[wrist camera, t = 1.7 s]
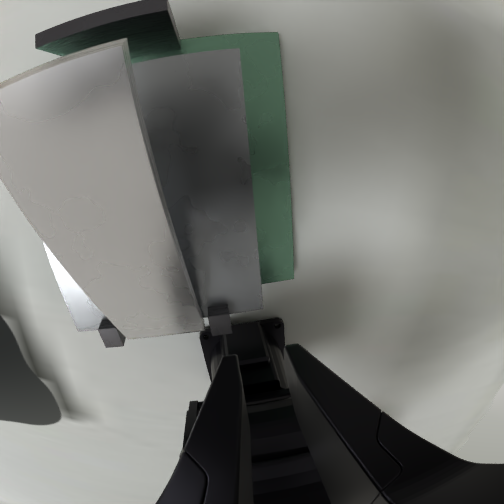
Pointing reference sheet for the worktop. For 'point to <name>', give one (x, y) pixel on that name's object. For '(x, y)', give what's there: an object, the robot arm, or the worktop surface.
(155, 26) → the green grey square block
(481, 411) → the worktop surface
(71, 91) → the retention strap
